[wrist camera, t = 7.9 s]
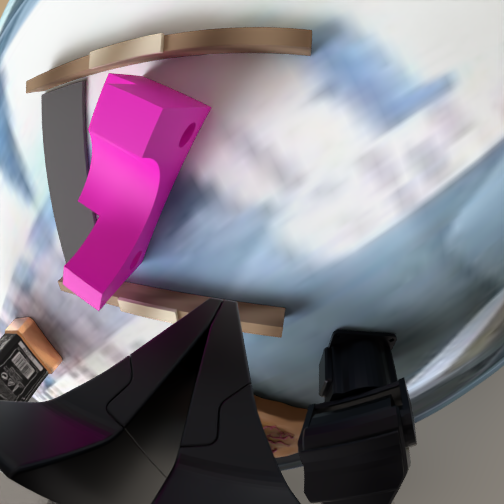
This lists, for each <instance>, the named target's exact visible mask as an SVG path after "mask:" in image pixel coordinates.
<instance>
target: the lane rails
mask: <svg viewBox="0 0 504 504" xmlns="http://www.w3.org/2000/svg"><path fill="white" fill-rule="evenodd" d="M311 45H312V30H305V29H293V28H271V27H243V28H221V29H209V30H199V31H190V32H183V33H176V34H170V35H164V34H163V33H159V34H154V35H149V36H144V37H140V38H136V39H132V40H128V41H124V42H120V43H117V44H113V45H110V46H106V47H103V48H100V49H97V50H94V51H91V52H90V55H87V56H84V57H82V58H79V59H76V60H74V61H71V62H68V63H66V64H63V65H61V66H59V67H56V68H54V69H52V70H49V71H47V72H45V73H43V74H41V75H38V76H36V77H34V78H32V79H30V80H28V81H26V93H31V92H39V91H45V90H48V89H51V88H53V87H56V86H59V85H61V84H64V83H67V82H70V81H73V80H76V79H79V78H82V77H86V76H89V75H92V74H96V73H99V72H103V71H107V70H111V69H115V68H119V67H123V66H128V65H133V64H138V63H143V62H148V61H154V60H160V59H167V58H174V57H182V56H192V55H203V54H218V53H280V54H295V55H306V56H310V54H311ZM58 283H59V286H60V289H61V290H62V291H65V292H68V293H72V294H75V293H73V292H72V291H71V290H70V289H68V288H67V287H66V286H64V285H63V277H62V278H61V279H60V280H59V281H58ZM75 295H76V294H75ZM209 298H212V297H206V296H200V295H194V294H188V293H182V292H176V291H171V290H165V289H160V288H155V287H149V286H144V285H139V284H134V283H129V282H124V283H123V284H122V285H121V286H120V287H119V288H118V290H117V291H116V292H115V293H114V294H113V295H112V296H111V298H110V299H109V300H108V301H107V302H106V303H107V304H110V305H114V306H118V307H120V310H121V311H123V312H126V313H130V314H134V315H138V316H143V317H147V318H151V319H155V320H160V321H164V322H169V323H173V324H174V323H175V322H177V321H178V320H180V319H181V318H182V317H184V316H185V315H187V314H188V313H189V312H191V311H192V310H194V309H195V308H196V307H198V306H199V305H201V304H202V303H203V302H205V301H206V300H207V299H209ZM217 299H218V298H217ZM222 300H223V301H224V300H225V299H222ZM236 302H237V304H238V310H239V316H240V322H241V327H242V332H245V333H252V334H259V335H266V336H273V337H281V336H282V330H283V322H284V314H285V308H282V307H274V306H267V305H259V304H252V303H245V302H238V301H236Z"/></svg>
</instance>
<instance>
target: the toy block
mask: <svg viewBox="0 0 504 504" xmlns="http://www.w3.org/2000/svg"><path fill="white" fill-rule="evenodd" d="M210 109H211V107H209V106H207V105H205V104H203V103H201V102H199V101H197V100H195V99H193V98H191V97H189V96H187V95H184V94H182V93H180V92H178V91H176V90H174V89H171V88H169V87H167V86H164V85H162V84H160V83H157V82H155V81H153V80H150V79H148V78H145V77H143V76H135V75H124V74H112V73H109V74H108V77H107V79H106V81H105V84H104V86H103V89H102V91H101V94H100V97H99V99H98V102H97V105H96V108H95V110H94V113H93V116H92V119H91V122H90V126H89V129H88V130H89V133H90V136H91V141H92V159H91V165H90V169H89V173H88V177H87V180H86V183H85V185H84V188H83V191H82V193H81V195H80V197H79V199H78V202H80V203H81V204H83V205H84V206H86V207H87V208H89V209H90V210H92V211H93V212H95V213H96V214H98V215H99V218H98V220H97V222H96V224H95V225H94V227H93V229H92V230H91V232H90V234H89V235H88V237H87V238H86V240H85V241H84V243H83V244H82V246H81V247H80V248H79V250H78V251H77V252H76V253H75V255H74V256H73V257H72V258H71V259H70V260H69V262H68V263H67V264H66V265H65V266H64V273H63V285H64V286H66V287H67V288H68V289H70V290H71V291H72V292H73V293H75V294H76V295H77V296H79V297H80V298H81V299H83V300H84V301H86V302H87V303H88V304H90V305H91V306H92V307H94V308H95V309H97V310H98V311H99V310H100V309H101V308H102V307H103V306H104V305H105V303H106V302H107V301H108V300H109V299H110V298H111V296H112V295H113V294H114V293H115V292H116V291H117V290H118V288H119V287H120V286H121V285H122V284H123V283H124V282H125V280H126V279H127V278H128V277H129V276H130V275H131V274H132V273H133V272H134V271H135V269H136V268H137V267H138V266H139V265H140V264H141V263H142V261H143V258H144V255H145V253H146V250H147V247H148V245H149V242H150V239H151V237H152V234H153V232H154V229H155V227H156V224H157V222H158V219H159V217H160V214H161V212H162V209H163V207H164V205H165V202H166V200H167V198H168V195H169V193H170V191H171V189H172V186H173V184H174V182H175V180H176V177H177V175H178V173H179V171H180V169H181V167H182V164H183V162H184V160H185V158H186V156H187V154H188V152H189V150H190V148H191V146H192V144H193V142H194V140H195V138H196V136H197V134H198V132H199V130H200V128H201V126H202V124H203V122H204V120H205V118H206V117H207V115H208V113H209V111H210Z"/></svg>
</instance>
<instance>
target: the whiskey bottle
mask: <svg viewBox="0 0 504 504" xmlns="http://www.w3.org/2000/svg"><path fill="white" fill-rule="evenodd" d="M61 362H62V358H61V356H60V355H59V354H58V353H57V351H56V350H55V349H54V348H53V346H52V345H51V344H50V342H49V341H48V340H47V339H46V337H45V336H44V334H43V333H42V332H41V330H40V329H39V328H38V326H37V325H36V323H35V322H34V321H33V320H32V319H31V318H30V317H25V318H17V319H14V320H13V322H12V323H11V324H10V325H9V326H8V327H7V329H6V330H5V334H4V335H3V336H2V337H1V339H0V400H3V401H16V402H28V401H29V399H30V398H31V397H32V395H33V394H34V392H35V391H36V390H37V388H38V387H39V386H40V384H41V383H42V382H43V380H44V379H45V378H46V377H47V375H48V374H52V373H53V372H54V370H55V369H56V368H57V367H58V365H59V364H60V363H61Z"/></svg>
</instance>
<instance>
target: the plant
mask: <svg viewBox="0 0 504 504" xmlns="http://www.w3.org/2000/svg"><path fill="white" fill-rule="evenodd" d="M254 398H255V403H256V407H257V411H258V414H259V417H260V420H261V423H262V426H263V429H264V432H265V434H266V437H267V439H268V442H269V444H270V447H271V450H272V452H273V454H274V457H282V456H288V455H292V454H295V453H297V452H298V444H297V443H298V440H299V436H300V433H301V430H302V427H303V424H304V420H305V417H306V414H307V411H308V410H307V409H302V408H296V407H292V406H289V405H287V404H284V403H281V402H277V401H272V400H267V399H263V398H260V397H257V396H256V395H254Z"/></svg>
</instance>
